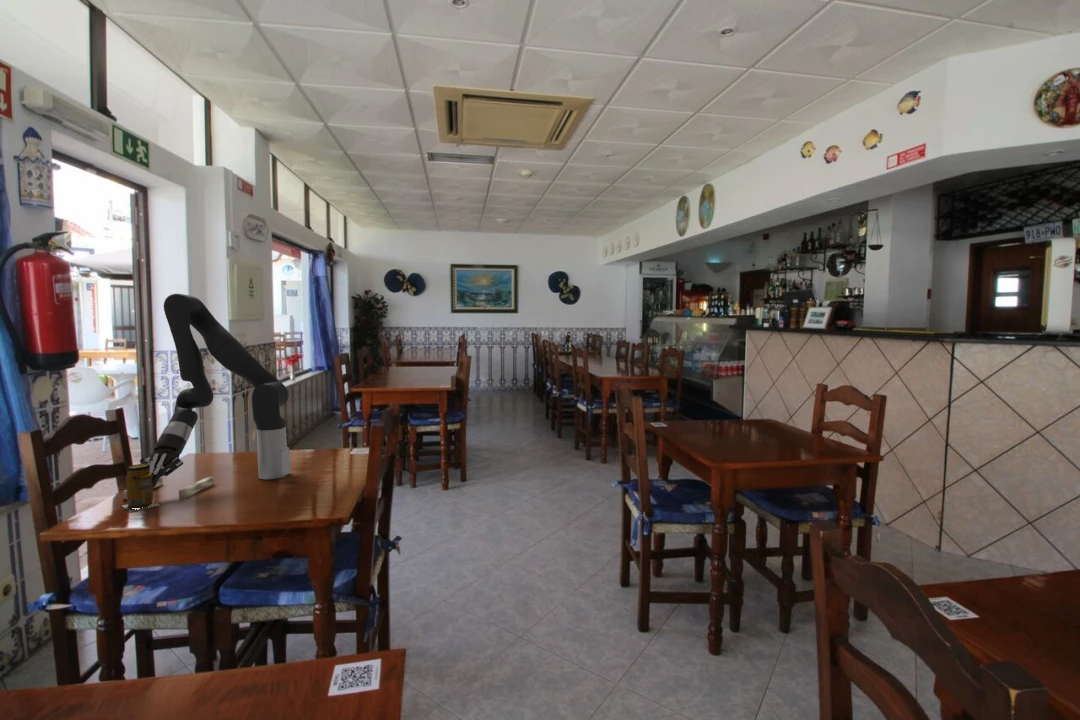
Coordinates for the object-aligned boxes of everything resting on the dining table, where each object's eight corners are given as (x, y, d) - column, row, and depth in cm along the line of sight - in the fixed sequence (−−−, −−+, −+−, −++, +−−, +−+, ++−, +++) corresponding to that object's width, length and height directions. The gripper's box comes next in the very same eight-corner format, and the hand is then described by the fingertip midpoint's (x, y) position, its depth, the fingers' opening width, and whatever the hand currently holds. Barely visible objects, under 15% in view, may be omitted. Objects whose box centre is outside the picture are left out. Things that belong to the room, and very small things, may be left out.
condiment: (151, 499, 158) (148, 461, 157) (160, 505, 153) (158, 466, 152) (121, 506, 152) (118, 466, 151) (130, 513, 147) (127, 472, 146)
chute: (156, 484, 173) (156, 477, 172) (213, 484, 173) (213, 477, 173) (123, 499, 159) (123, 491, 158) (185, 498, 159) (185, 490, 159)
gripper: (147, 432, 165) (118, 481, 154) (188, 432, 165) (163, 481, 154) (160, 444, 170) (133, 493, 159) (200, 444, 171) (176, 492, 159)
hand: (148, 487), depth 156 cm, fingers closed
